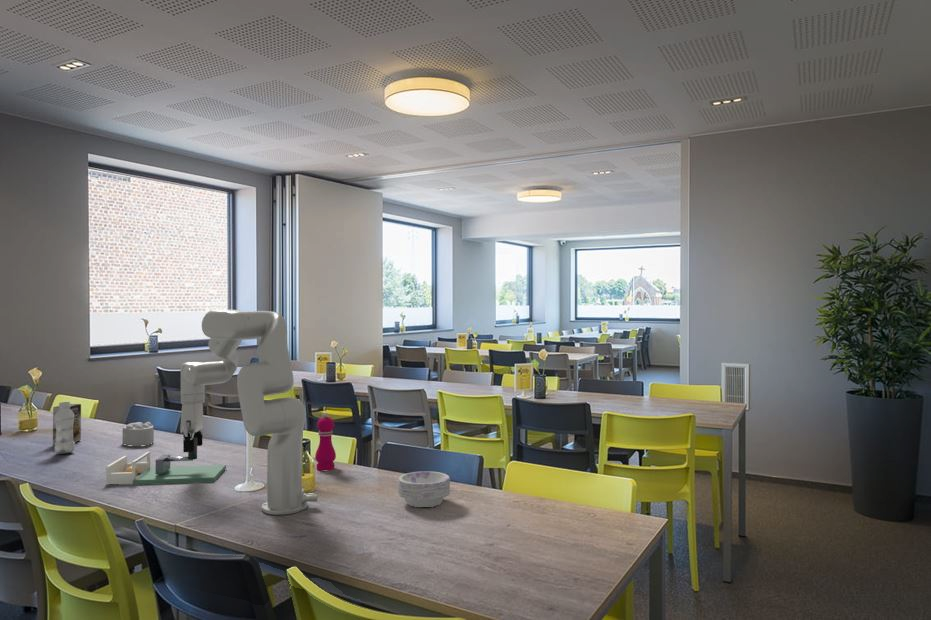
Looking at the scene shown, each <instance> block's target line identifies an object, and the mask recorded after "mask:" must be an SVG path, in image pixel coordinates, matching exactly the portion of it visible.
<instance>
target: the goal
mask: <svg viewBox="0 0 931 620" xmlns="http://www.w3.org/2000/svg"><path fill="white" fill-rule="evenodd" d="M145 458H146V461H143V462H140V461H142V460H143V459H145ZM131 466H132V472H125V470H126V469H127V468H128V467H131ZM135 467H136V468H137V469H138V473H140V474H143V473H144V472H145V471H147V470H148V469H150V468H151V451H147V452H144V453H143V454H142V455H141V456H139V457H138V458H136V459H133V460H132V461H131V462H128V455H123V456H122V457H120V458H118V459H116V460H115V461H113V462H112V463H110V464H108V465H106V467H105V485H107V486H110V485H109V484H119V485H133V480H134V479H135V478H136V477H135Z"/></svg>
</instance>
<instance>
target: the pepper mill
mask: <svg viewBox="0 0 931 620" xmlns="http://www.w3.org/2000/svg"><path fill="white" fill-rule="evenodd" d="M316 428H317V429H318V430H319V431H318V436H319V442H318V443H319V444H318V447H317V449H316V451H315V458H314V459H315V461H316V462H317V463H316V470H317V471H319V470H320V472H322V471H321V470H329V471H332V469H333V470H334V469H335V463H334V461H335V460H336V459H337V458H336V457H337V454H336V450H335V447H334V445H333V443H332V436H333V435H334V433H333V432H334V431H333V429H334V428H335V422H334V420H333V419H332V418H331V417H329V414H328V413H327V412H324V413H323V414H322V417H321V418H318V421H317V423H316Z"/></svg>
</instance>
